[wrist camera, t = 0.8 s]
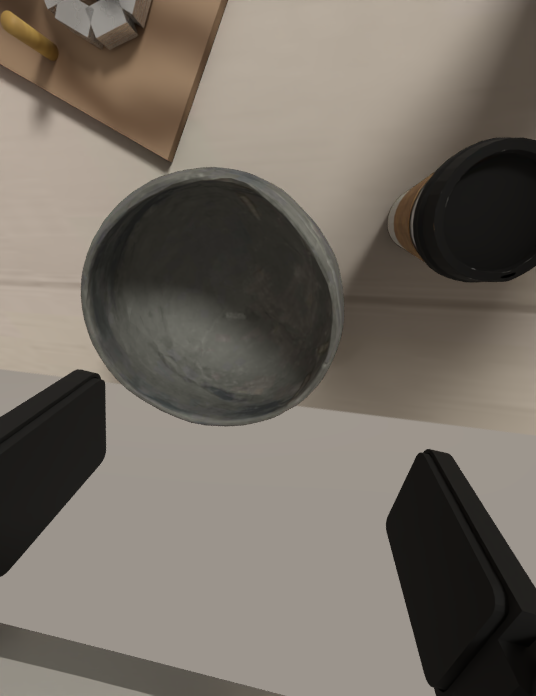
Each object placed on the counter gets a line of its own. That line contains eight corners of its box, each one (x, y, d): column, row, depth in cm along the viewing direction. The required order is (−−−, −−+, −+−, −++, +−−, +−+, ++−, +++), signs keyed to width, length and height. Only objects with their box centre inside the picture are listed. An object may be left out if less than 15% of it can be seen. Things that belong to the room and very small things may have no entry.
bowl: (341, 357, 38) (362, 432, 24) (181, 376, 42) (119, 451, 28) (321, 165, 31) (334, 115, 17) (129, 208, 35) (11, 195, 21)
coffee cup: (383, 272, 34) (436, 304, 20) (367, 190, 31) (416, 161, 17) (466, 247, 32) (587, 264, 18) (456, 159, 30) (590, 99, 16)
